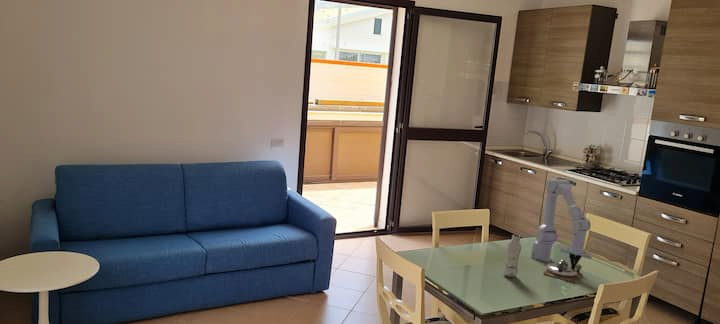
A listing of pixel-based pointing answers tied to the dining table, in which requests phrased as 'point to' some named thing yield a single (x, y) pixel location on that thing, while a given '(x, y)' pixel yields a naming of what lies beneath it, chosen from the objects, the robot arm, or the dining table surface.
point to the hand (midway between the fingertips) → (572, 269)
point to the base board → (570, 279)
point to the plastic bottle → (512, 257)
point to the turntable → (561, 270)
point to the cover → (563, 263)
